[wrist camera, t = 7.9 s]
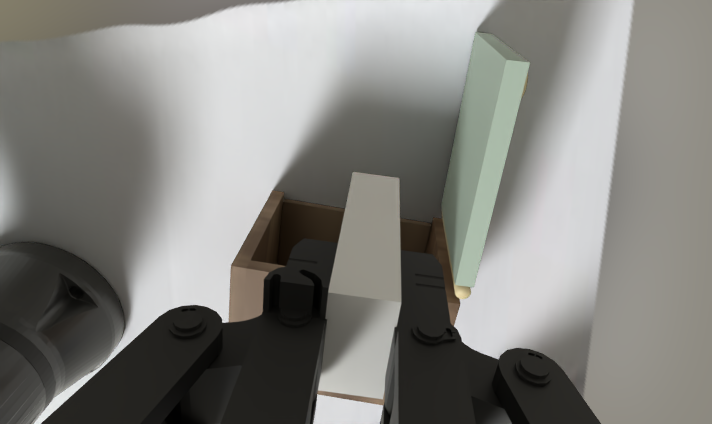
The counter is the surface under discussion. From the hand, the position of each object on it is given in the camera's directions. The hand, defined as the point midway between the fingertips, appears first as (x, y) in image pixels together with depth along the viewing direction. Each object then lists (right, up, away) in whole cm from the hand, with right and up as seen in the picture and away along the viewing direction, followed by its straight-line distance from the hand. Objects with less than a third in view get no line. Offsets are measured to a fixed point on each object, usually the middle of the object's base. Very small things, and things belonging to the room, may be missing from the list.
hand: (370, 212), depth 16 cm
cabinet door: (+9, +6, +23) cm, 25 cm away
